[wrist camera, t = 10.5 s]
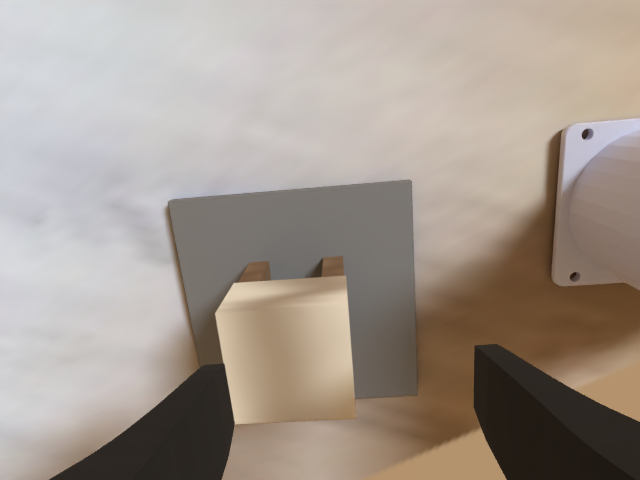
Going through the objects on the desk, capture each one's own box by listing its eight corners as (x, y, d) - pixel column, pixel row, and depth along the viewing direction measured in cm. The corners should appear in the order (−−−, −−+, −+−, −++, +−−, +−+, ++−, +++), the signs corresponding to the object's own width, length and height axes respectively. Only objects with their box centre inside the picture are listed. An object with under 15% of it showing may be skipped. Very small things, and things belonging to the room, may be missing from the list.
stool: (344, 254, 21) (347, 305, 15) (351, 341, 23) (356, 418, 17) (247, 260, 21) (214, 313, 16) (259, 346, 23) (234, 424, 17)
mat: (409, 179, 21) (411, 181, 20) (415, 388, 24) (417, 395, 23) (172, 199, 21) (167, 201, 21) (210, 399, 25) (207, 406, 24)
